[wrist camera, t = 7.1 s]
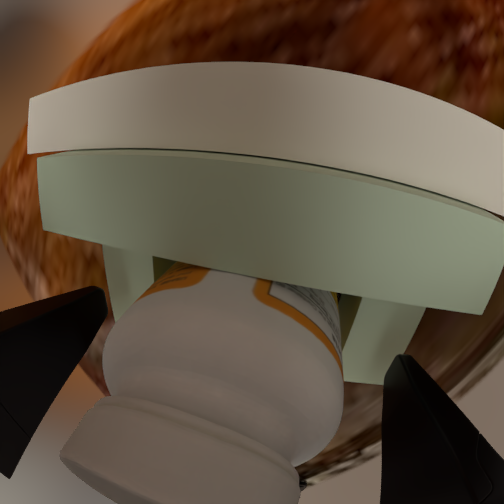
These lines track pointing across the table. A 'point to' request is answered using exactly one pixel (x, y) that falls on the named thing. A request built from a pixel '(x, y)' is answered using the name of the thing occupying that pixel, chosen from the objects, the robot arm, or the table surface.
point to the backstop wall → (281, 123)
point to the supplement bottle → (213, 392)
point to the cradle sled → (280, 235)
